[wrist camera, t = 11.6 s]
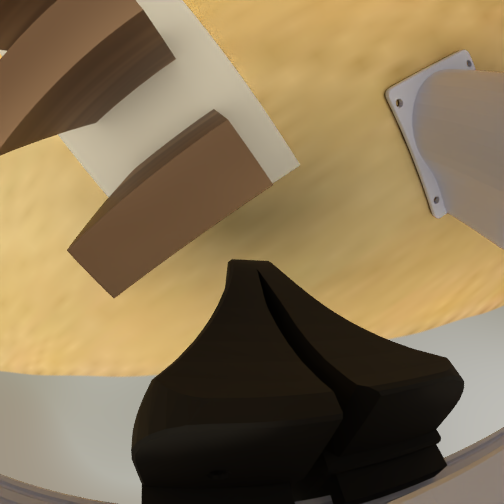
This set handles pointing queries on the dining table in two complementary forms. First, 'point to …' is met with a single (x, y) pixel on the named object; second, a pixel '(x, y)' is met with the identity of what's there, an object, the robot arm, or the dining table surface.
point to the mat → (177, 106)
